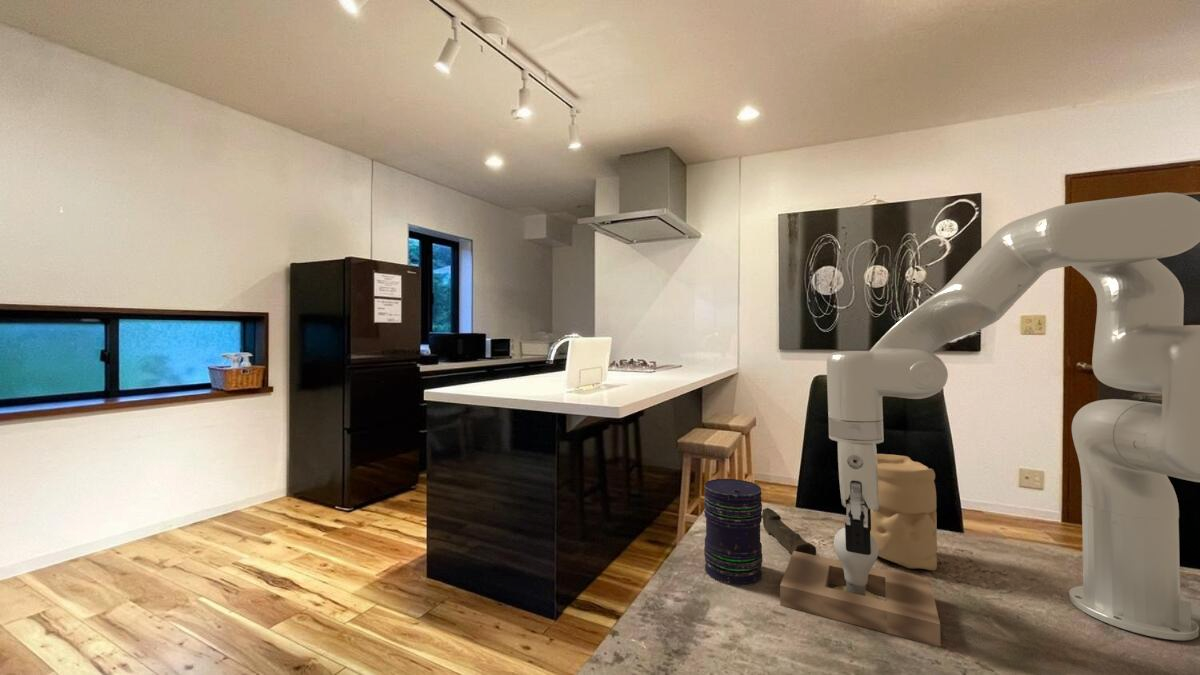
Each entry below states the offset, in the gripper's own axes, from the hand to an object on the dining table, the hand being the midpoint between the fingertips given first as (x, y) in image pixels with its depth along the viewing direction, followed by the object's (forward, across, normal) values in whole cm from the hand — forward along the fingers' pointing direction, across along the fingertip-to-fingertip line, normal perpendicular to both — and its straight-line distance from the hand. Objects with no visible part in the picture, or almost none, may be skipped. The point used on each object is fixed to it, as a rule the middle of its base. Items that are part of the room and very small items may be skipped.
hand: (859, 540), depth 73 cm
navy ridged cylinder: (+9, 0, +20) cm, 22 cm away
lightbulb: (+9, 0, +1) cm, 9 cm away
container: (+10, +21, -5) cm, 24 cm away
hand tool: (+10, +17, +14) cm, 24 cm away
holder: (+9, 0, +1) cm, 9 cm away
